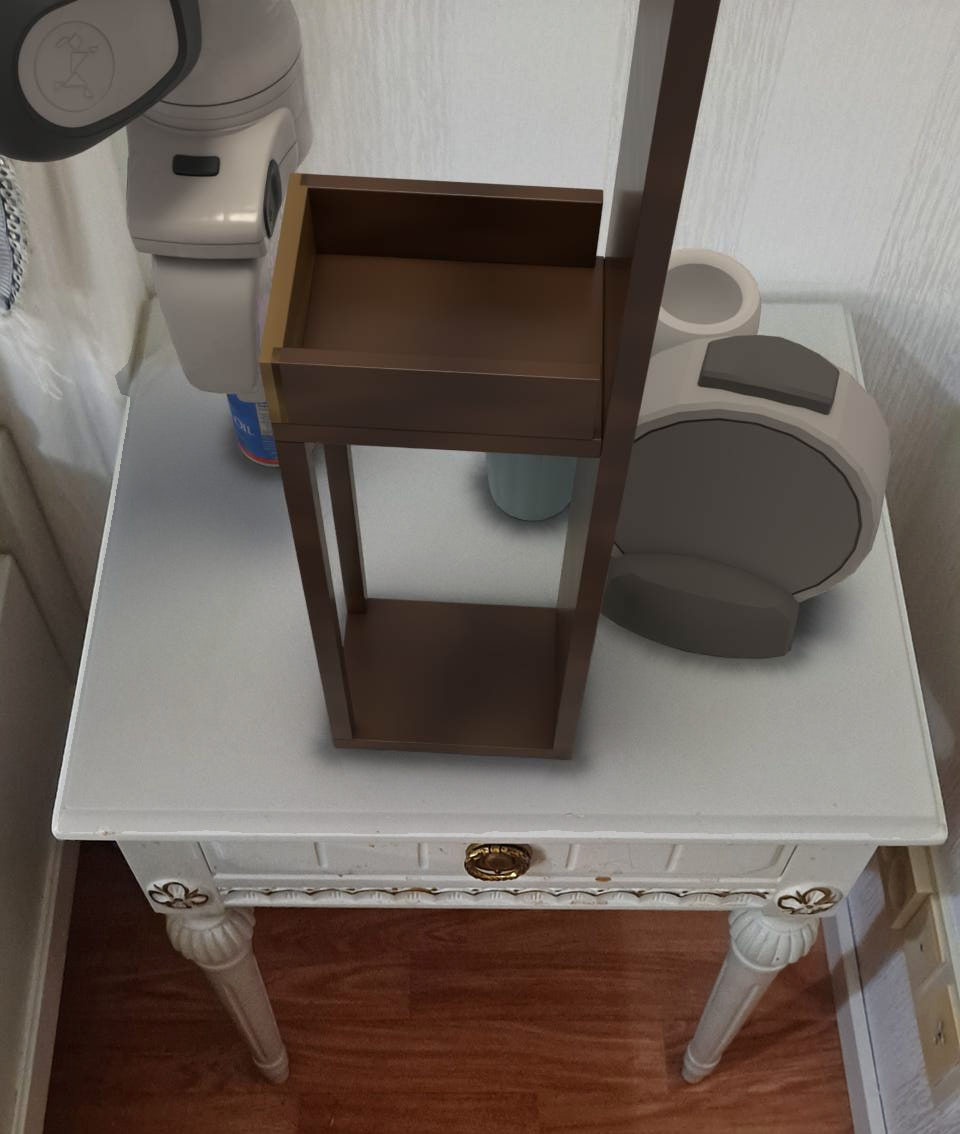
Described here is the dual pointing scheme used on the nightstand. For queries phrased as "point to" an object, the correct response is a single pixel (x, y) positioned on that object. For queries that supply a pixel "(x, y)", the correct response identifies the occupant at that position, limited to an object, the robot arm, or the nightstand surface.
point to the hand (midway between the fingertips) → (265, 333)
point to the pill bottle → (254, 430)
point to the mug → (706, 299)
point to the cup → (530, 483)
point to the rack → (476, 399)
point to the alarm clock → (743, 494)
